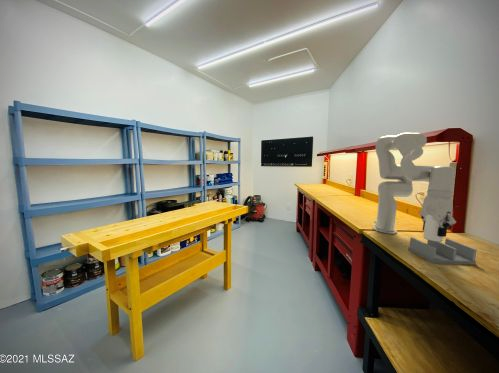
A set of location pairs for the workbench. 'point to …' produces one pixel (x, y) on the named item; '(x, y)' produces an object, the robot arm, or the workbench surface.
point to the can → (432, 229)
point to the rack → (443, 251)
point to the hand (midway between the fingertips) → (433, 233)
